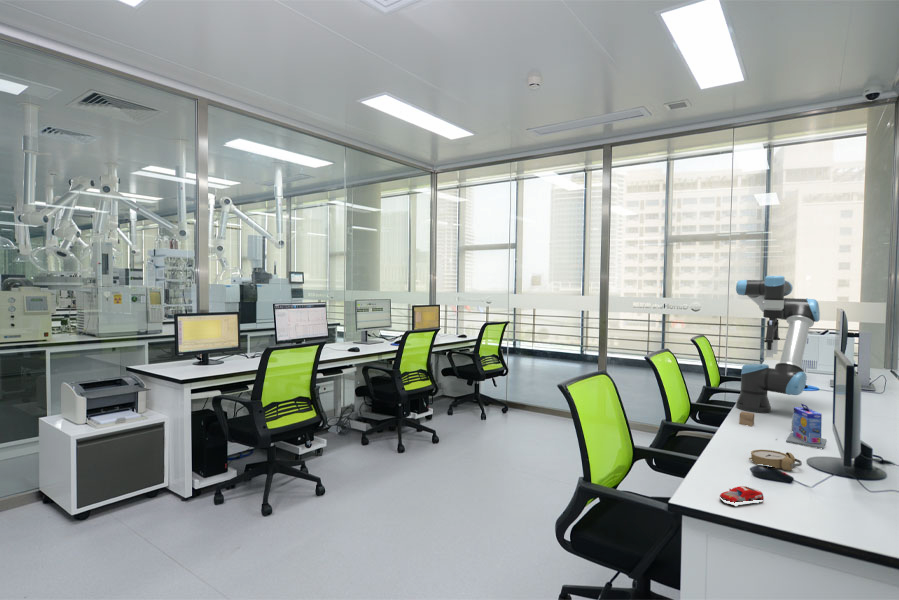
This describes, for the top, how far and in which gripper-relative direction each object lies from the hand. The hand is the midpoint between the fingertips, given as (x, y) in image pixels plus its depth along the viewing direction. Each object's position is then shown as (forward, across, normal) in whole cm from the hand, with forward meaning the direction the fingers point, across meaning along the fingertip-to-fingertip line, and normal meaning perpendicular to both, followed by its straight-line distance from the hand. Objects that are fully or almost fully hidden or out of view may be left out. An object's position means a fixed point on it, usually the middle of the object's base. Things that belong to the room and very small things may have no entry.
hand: (771, 355), depth 219 cm
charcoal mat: (+31, +20, +16) cm, 41 cm away
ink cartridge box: (+31, +21, +16) cm, 40 cm away
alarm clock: (+32, +60, +10) cm, 69 cm away
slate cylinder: (+32, +6, +12) cm, 34 cm away
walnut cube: (+32, +9, -7) cm, 34 cm away
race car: (+31, +102, +7) cm, 107 cm away
